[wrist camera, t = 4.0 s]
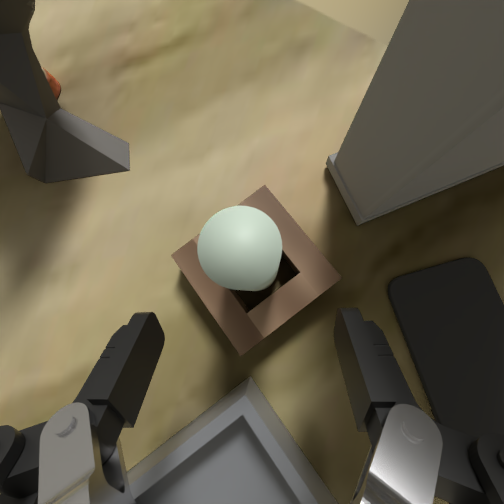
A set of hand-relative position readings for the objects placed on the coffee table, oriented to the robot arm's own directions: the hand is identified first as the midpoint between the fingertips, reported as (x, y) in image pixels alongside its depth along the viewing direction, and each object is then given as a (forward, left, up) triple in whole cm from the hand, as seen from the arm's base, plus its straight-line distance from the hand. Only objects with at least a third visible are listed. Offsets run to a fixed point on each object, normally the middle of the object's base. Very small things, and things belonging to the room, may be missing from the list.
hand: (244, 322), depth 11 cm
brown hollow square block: (+2, +3, -9) cm, 9 cm away
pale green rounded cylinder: (+2, +3, -9) cm, 9 cm away
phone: (+10, -12, -9) cm, 18 cm away
